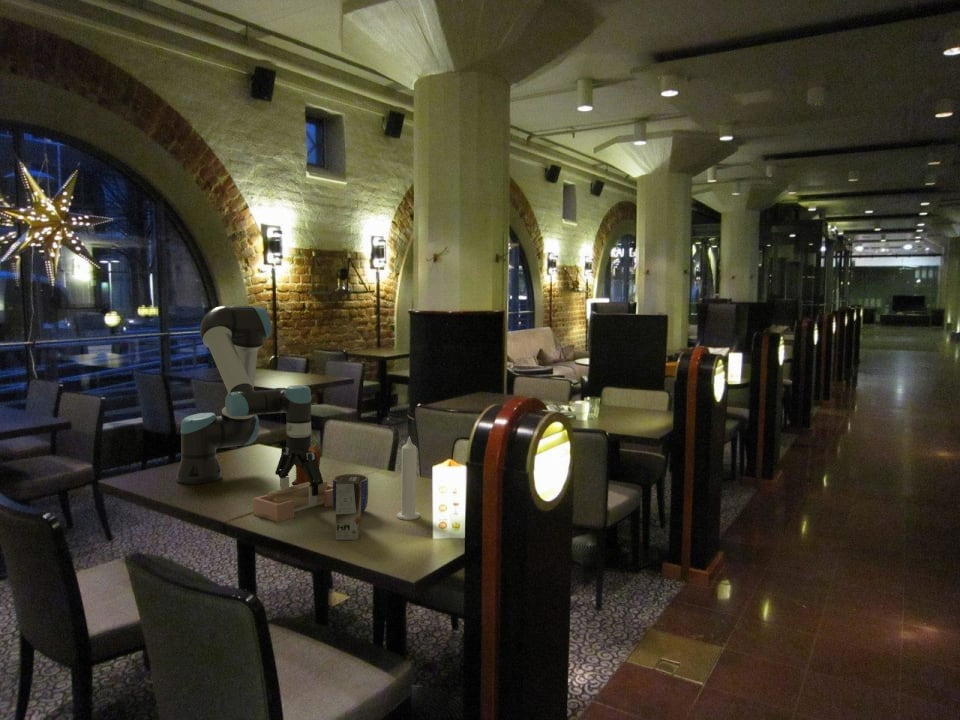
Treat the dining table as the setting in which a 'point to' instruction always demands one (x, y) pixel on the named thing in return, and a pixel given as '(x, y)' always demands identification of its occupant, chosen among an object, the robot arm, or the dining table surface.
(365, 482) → the planter
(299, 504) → the tan wooden beam
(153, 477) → the dining table surface
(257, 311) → the robot arm
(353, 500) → the coffee box
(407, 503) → the candle
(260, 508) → the endcap rail
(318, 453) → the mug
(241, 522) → the dining table surface
